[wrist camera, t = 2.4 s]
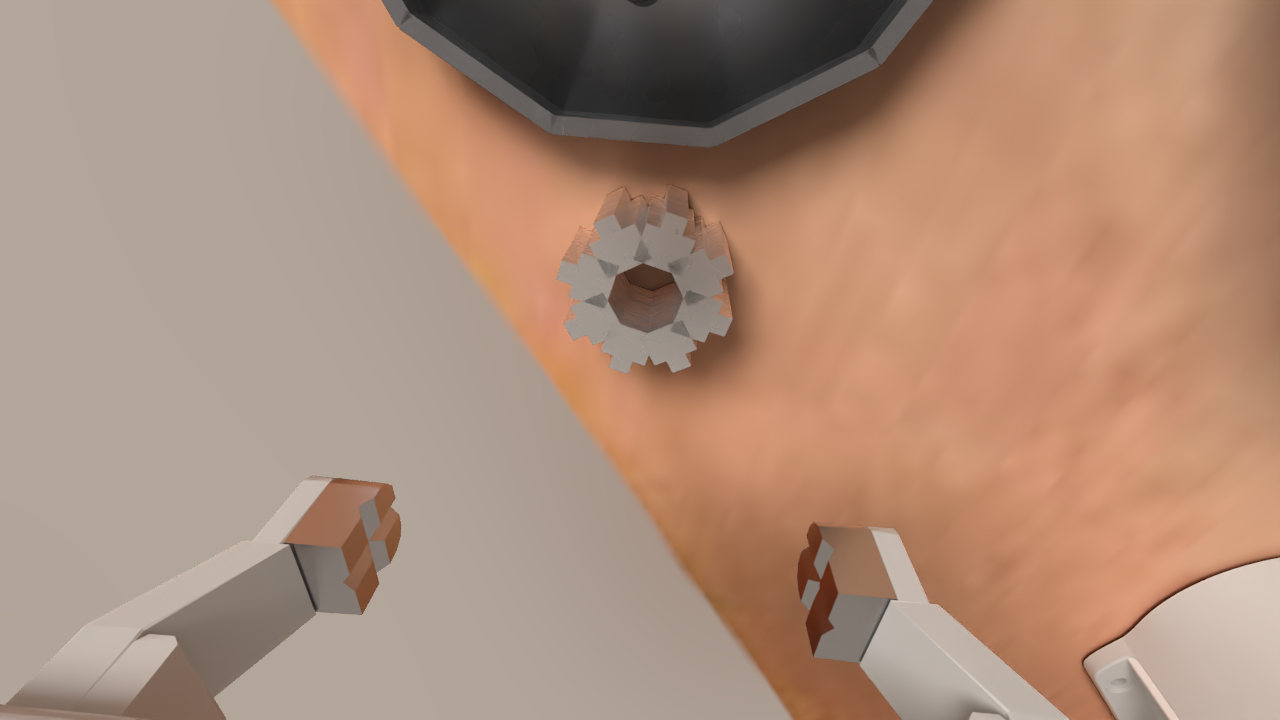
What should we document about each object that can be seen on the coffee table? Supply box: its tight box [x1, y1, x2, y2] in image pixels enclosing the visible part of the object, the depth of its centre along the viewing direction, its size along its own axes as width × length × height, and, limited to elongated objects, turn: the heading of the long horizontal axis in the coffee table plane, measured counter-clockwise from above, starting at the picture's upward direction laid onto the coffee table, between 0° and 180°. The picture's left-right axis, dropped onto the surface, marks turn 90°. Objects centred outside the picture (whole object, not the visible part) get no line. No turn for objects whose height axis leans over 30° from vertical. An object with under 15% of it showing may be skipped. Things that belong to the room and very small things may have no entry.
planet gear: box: [557, 184, 734, 374], centre depth 22 cm, size 7×7×4 cm
